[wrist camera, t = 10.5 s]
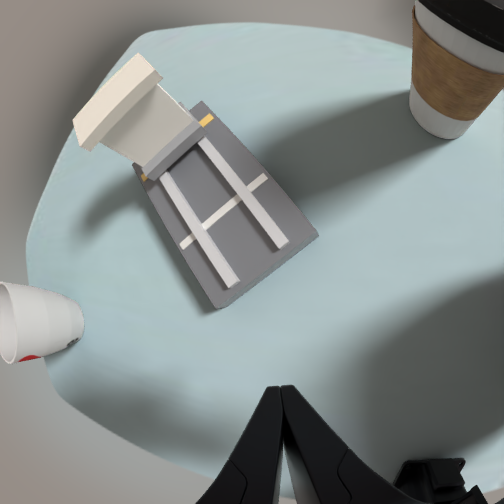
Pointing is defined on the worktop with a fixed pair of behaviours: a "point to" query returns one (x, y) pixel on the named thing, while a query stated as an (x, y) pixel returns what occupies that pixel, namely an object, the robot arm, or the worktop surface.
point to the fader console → (226, 213)
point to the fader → (138, 119)
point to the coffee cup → (455, 62)
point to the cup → (36, 322)
